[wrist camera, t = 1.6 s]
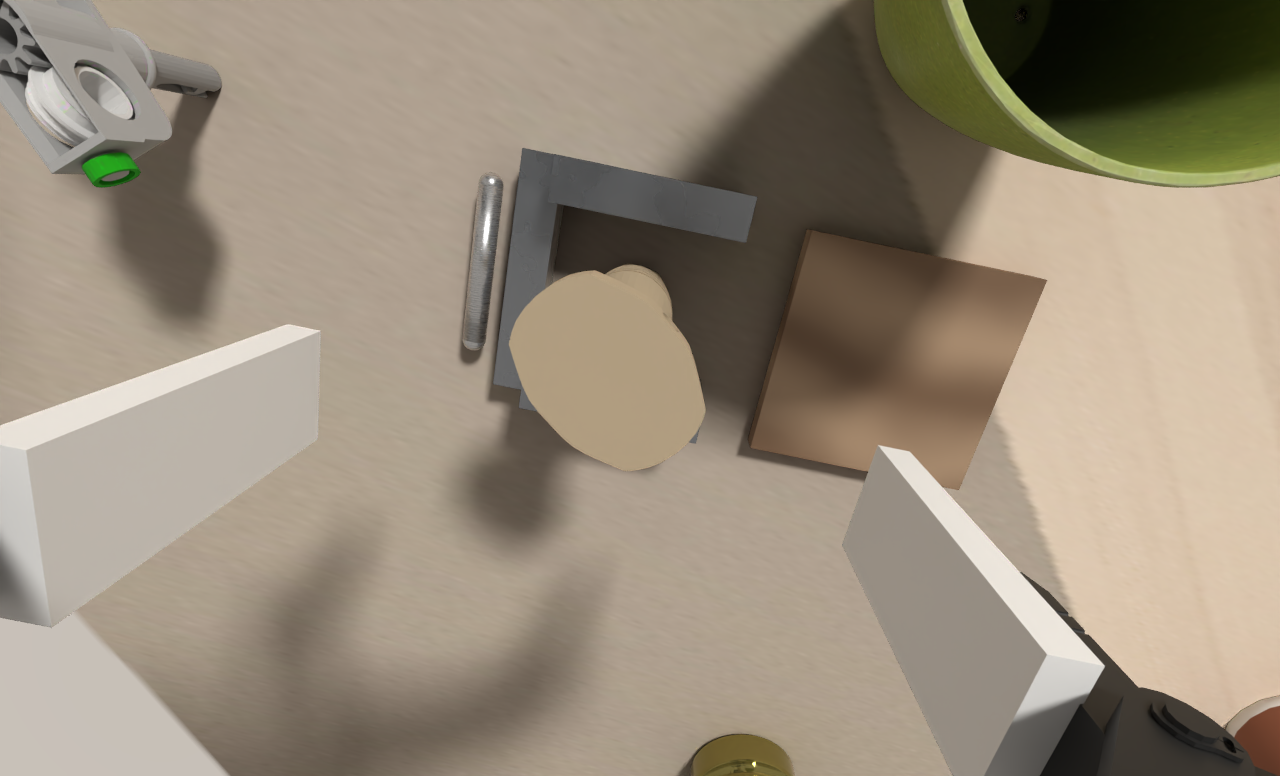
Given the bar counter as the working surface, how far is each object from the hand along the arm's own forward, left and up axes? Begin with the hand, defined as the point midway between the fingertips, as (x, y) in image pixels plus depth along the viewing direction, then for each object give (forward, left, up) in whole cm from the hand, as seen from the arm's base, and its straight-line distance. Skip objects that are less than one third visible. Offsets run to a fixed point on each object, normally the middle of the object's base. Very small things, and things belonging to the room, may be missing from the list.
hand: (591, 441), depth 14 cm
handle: (0, 0, -20) cm, 20 cm away
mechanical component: (-6, -23, -20) cm, 31 cm away
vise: (0, -2, -19) cm, 19 cm away
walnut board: (+1, +14, -19) cm, 24 cm away
